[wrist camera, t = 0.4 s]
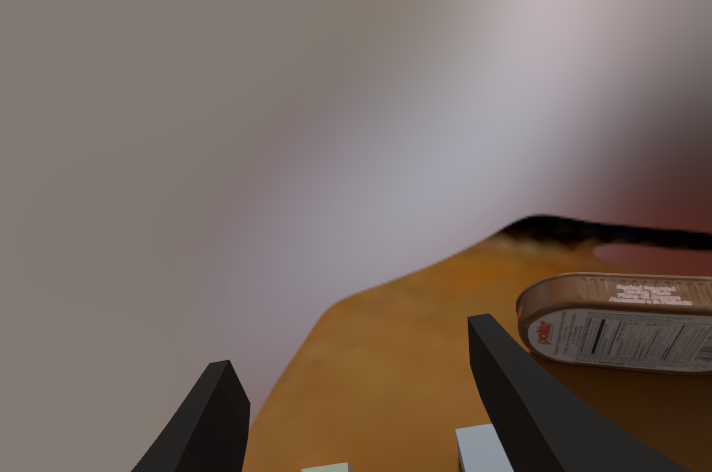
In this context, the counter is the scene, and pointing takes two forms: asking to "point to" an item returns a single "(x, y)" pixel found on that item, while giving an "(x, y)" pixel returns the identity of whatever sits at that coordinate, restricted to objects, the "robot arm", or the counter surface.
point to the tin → (620, 321)
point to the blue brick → (481, 450)
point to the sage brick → (330, 468)
